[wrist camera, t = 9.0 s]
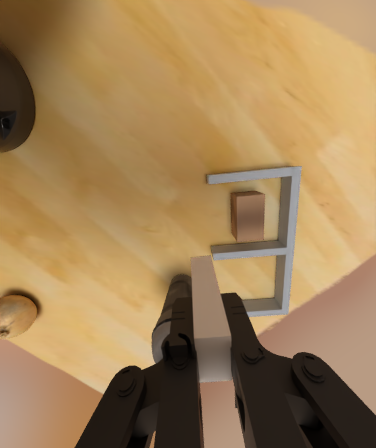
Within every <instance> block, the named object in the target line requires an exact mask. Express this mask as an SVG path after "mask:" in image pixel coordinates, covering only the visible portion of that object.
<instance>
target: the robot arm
mask: <svg viewBox="0 0 376 448" xmlns="http://www.w3.org/2000/svg"><path fill="white" fill-rule="evenodd" d="M34 114H35V106H34V98H33V93H32V89H31V86H30V83H29V81H28V78H27V76H26V74H25V72H24V70H23V69H22V67H21V65H20V64H19V62H18V61H17V59H16V58H15V57H14V56H13V54H12V53H11V52H10V51H9V50H8V49H7V48H6V47H5V46H4V45H3V44H2V43H1V42H0V152H5V151H9V150H12V149H14V148H16V147H18V146H19V145H20V144H22V143H23V142H24V141H25V139H26V138H27V137H28V135H29V133H30V131H31V129H32V126H33V122H34ZM191 275H192V297H183V298H176V300H175V302H174V303H173V305H172V315H171V325H170V334H168V335H167V336H166V337H165V339H164V340H163V342H162V345H161V350H162V355H163V358H162V359H161V360H160V361H159V362H158V363H156V364H154V365H152V366H150V367H148V368H146V369H143V370H141V368H139V367H137V366H128V367H125V368H123V369H121V370H120V371H119V372H118V373H117V374H116V375H115V376H114V378H113V379H112V380H111V382H110V384H109V386H108V388H107V389H106V391H105V393H104V395H103V397H102V399H101V400H100V402H99V404H98V406H97V408H96V410H95V412H94V413H93V415H92V417H91V419H90V421H89V422H88V424H87V426H86V428H85V430H84V432H83V433H82V435H81V437H80V439H79V441H78V443H77V444H76V446H75V448H149V447H150V443H151V439H152V436H153V433H154V431H156V434H155V443H154V448H204V439H203V423H202V406H201V394H200V383H202V382H217V381H231V380H232V377H233V382H234V386H235V407H236V408H238V413H239V418H240V423H241V428H242V433H243V438H244V443H245V448H376V415H375V414H374V413H373V412H372V411H371V410H370V409H369V408H368V407H367V406H366V405H365V404H364V402H363V401H362V400H361V399H360V398H359V397H358V396H357V395H356V394H355V393H354V392H353V391H352V390H351V389H350V388H349V387H348V386H347V384H346V383H345V382H344V381H343V380H342V379H341V378H340V377H339V376H338V375H337V374H336V373H335V372H334V371H333V370H332V369H331V367H330V366H329V365H327V363H325V362H324V361H323V360H322V359H321V358H319V357H317V356H315V355H313V354H311V353H306V352H301V353H297V354H296V355H294V356H293V359H291V358H287V357H283V356H279V355H276V354H273V353H271V352H270V351H268V350H266V349H265V348H264V347H263V346H262V345H261V344H260V343H259V341H258V339H257V337H256V334H255V332H254V329H253V327H252V324H251V322H250V319H249V317H248V314H247V312H246V309H245V307H244V304H243V302H242V299H241V298H240V297H239V296H238V295H237V294H236V293H224V294H220V290H219V286H218V282H217V278H216V275H215V271H214V267H213V263H212V259H211V256H199V257H191Z"/></svg>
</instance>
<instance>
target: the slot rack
mask: <svg viewBox="0 0 376 448" xmlns="http://www.w3.org/2000/svg"><path fill="white" fill-rule="evenodd" d="M301 167H302V166H288V167H278V168H268V169H259V170H249V171H239V172H229V173H219V174H210V175H207V183H208V184H216V183H226V182H236V181H247V180H257V179H267V178H277V177H282V179H281V196H280V213H279V230H278V240H276V241H264V242H253V243H241V244H229V245H218V246H211V251H212V256H213V260H224V259H236V258H248V257H260V256H272V255H277V264H276V281H275V297H274V298H267V299H253V300H242V302H243V304H244V307H245V309H246V312H247V314H248V317H256V316H271V315H285V314H288V311H289V300H290V289H291V278H292V267H293V256H294V245H295V234H296V223H297V212H298V201H299V190H300V179H301Z"/></svg>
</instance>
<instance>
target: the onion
mask: <svg viewBox="0 0 376 448" xmlns="http://www.w3.org/2000/svg"><path fill="white" fill-rule="evenodd" d="M36 315H37V308H36V306H35V304H34V303H33V302H32V301H31V300H30V299H28V298H26V297H23V296H21V295H18V294H17V295H9V296H5V297H2V298H0V340H2V339H9V338H12V337H15V336H17V335H20V334H22V333H23V332H25V331H26V330H28V329H29V328H30V326H31V325H32V324H33V323H34V321H35V319H36Z"/></svg>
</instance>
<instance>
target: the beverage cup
mask: <svg viewBox="0 0 376 448" xmlns="http://www.w3.org/2000/svg"><path fill="white" fill-rule="evenodd" d="M183 297H192V278H191V277H189V276H188V275H184V274H180V275H177V276H175V277H174V278H173V279H172V281H171V284H170V287H169V290H168V293H167V296H166V300H165V303H164V306H163V309H162V313H161V316H160V318H159V320H158V322H157V324H156V327H155V328H154V330H153V333H152V354H153V358H154V361H155V363H158V362H159V361H160V360H161V359H162V358H163V355H162V350H161V345H162V342H163V340H164V339H165V337H166V336H167V335H168V334H170V325H171V315H172V305H173V303H174V302H175V300H176V298H183Z"/></svg>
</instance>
